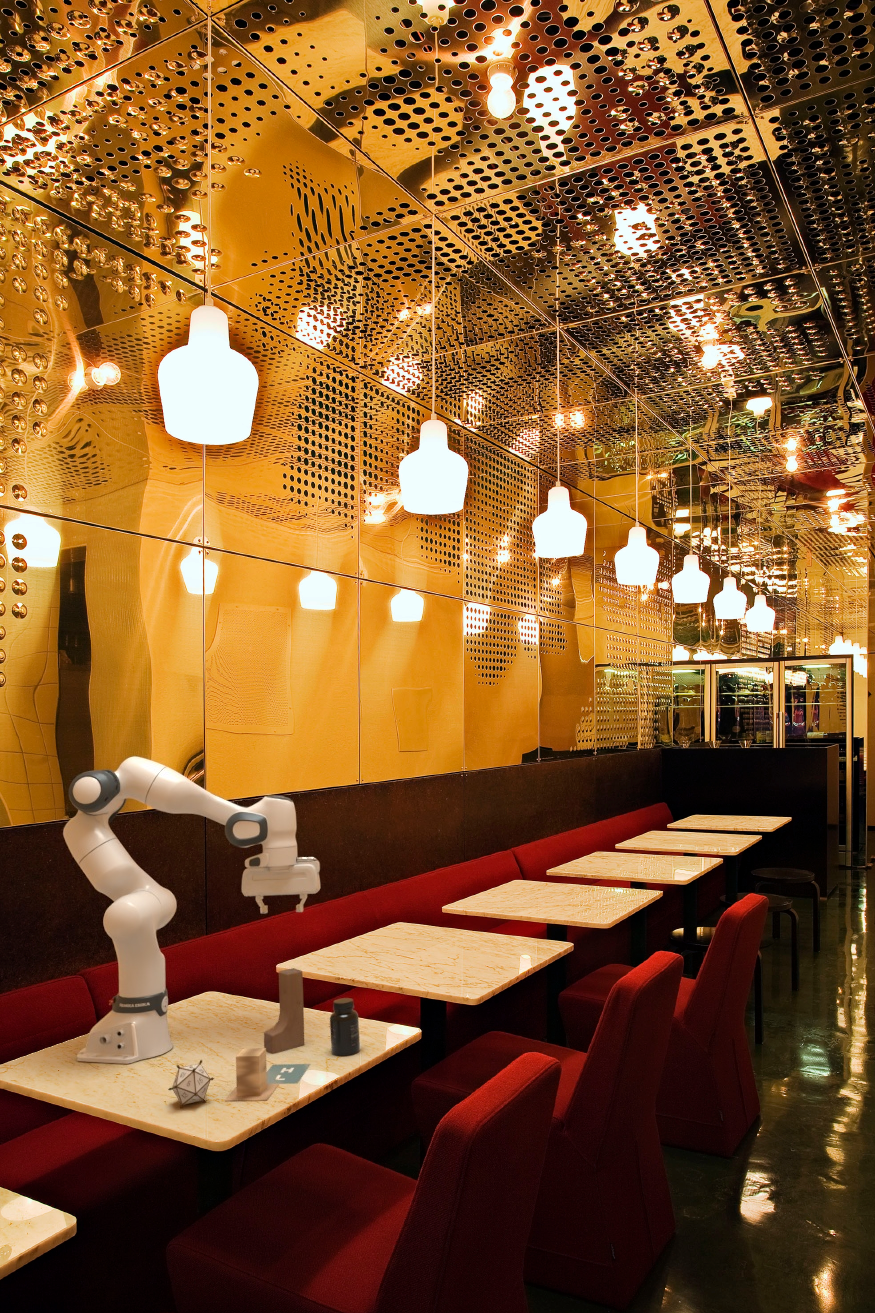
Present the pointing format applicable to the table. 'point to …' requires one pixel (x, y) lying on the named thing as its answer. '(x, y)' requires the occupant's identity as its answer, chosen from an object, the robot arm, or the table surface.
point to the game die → (191, 1084)
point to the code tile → (286, 1073)
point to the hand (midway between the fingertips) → (281, 912)
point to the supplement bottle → (344, 1028)
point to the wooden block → (288, 1014)
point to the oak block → (251, 1072)
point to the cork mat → (263, 1097)
